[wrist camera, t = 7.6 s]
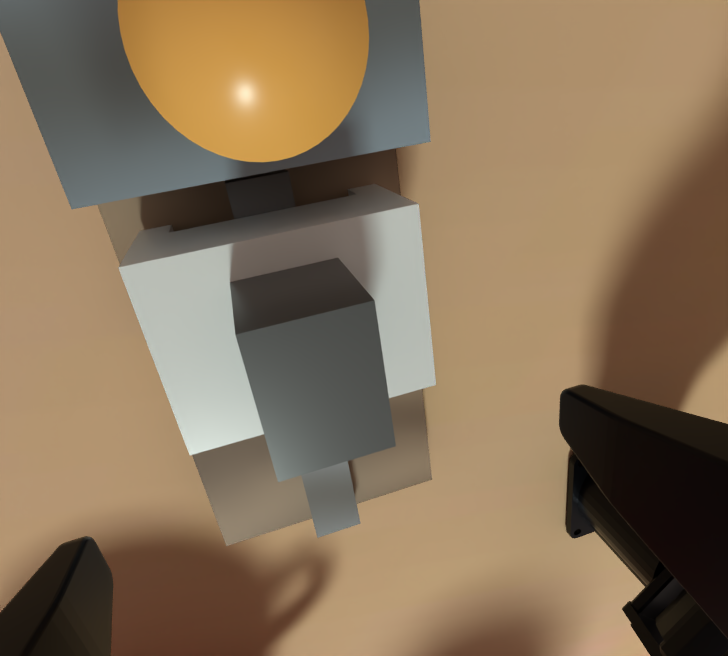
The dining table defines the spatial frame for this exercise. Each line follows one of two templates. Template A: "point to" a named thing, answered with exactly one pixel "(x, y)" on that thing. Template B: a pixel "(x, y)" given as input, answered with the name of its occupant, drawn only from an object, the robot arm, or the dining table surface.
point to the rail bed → (225, 211)
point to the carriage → (288, 325)
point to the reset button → (248, 69)
